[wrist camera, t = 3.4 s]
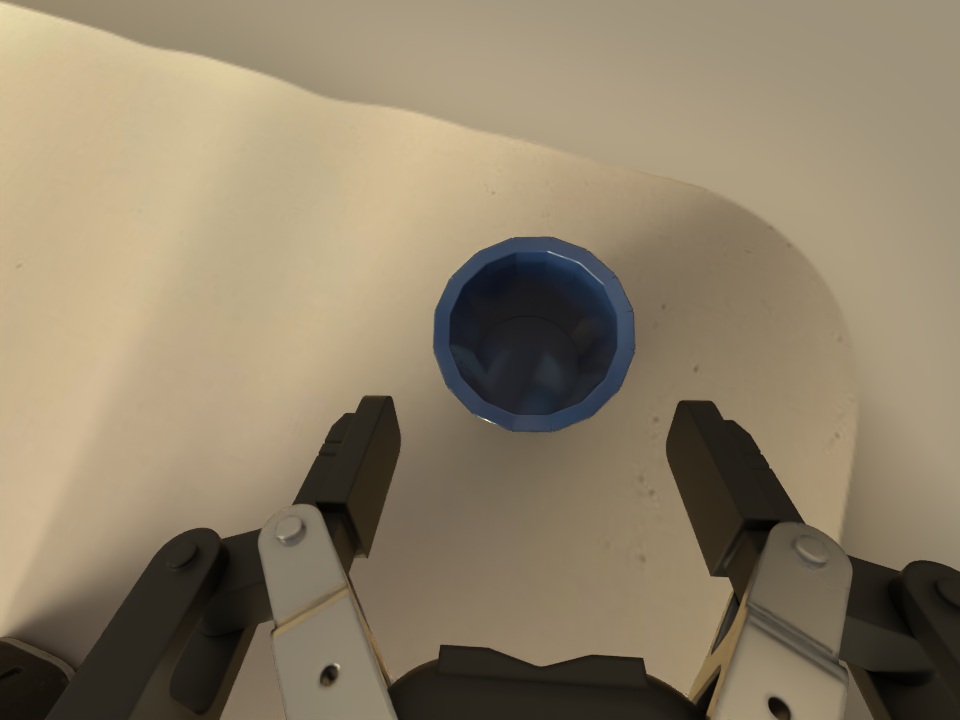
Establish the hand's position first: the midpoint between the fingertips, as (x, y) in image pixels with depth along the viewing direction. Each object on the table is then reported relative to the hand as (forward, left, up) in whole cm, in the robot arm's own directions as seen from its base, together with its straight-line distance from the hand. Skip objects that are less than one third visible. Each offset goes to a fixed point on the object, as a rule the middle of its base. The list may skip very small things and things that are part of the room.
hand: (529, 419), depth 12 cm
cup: (0, -3, -8) cm, 8 cm away
